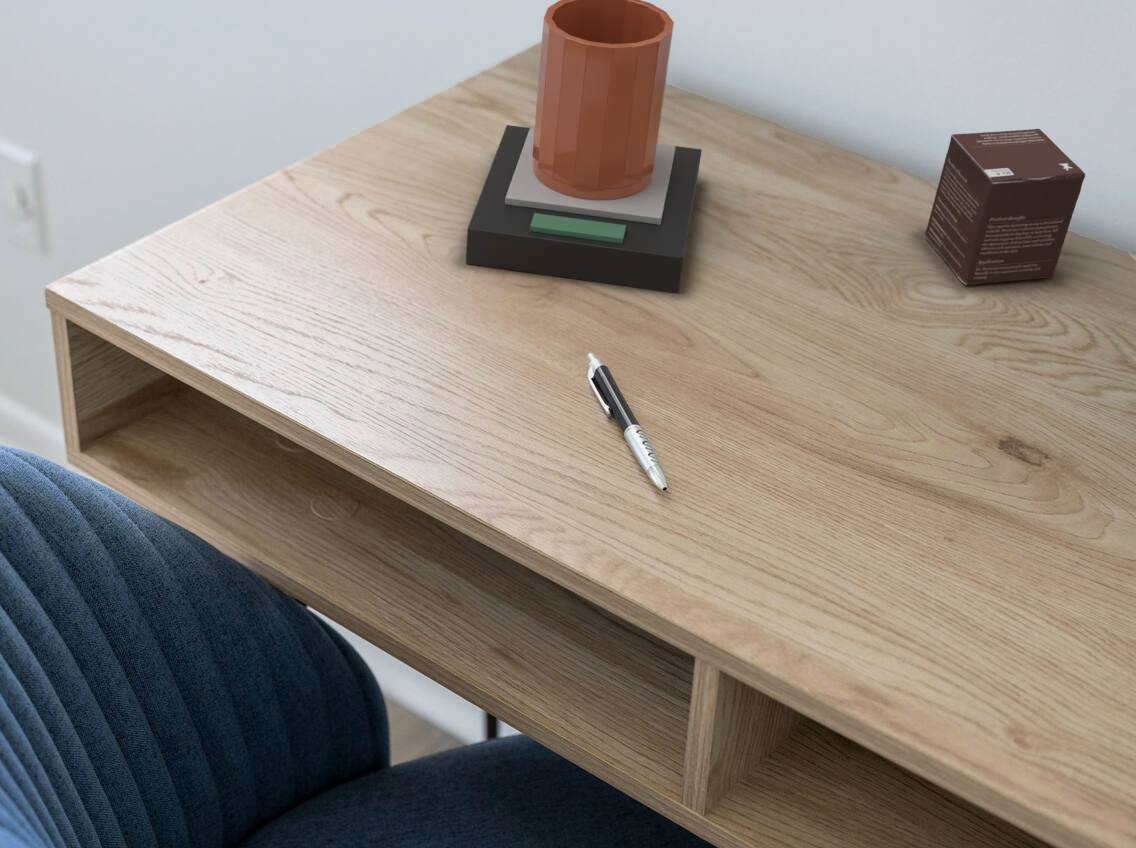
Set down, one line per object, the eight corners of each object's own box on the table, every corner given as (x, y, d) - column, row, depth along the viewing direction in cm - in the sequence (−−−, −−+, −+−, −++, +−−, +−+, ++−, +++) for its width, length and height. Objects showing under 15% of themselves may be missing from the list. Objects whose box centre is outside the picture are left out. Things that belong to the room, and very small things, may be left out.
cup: (658, 150, 105) (678, 1, 98) (646, 207, 99) (666, 53, 93) (542, 135, 106) (554, -12, 99) (523, 191, 100) (535, 38, 94)
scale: (696, 182, 108) (703, 141, 106) (678, 293, 97) (684, 250, 95) (504, 158, 110) (507, 117, 108) (465, 264, 99) (467, 221, 97)
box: (1010, 231, 104) (1041, 126, 99) (1054, 281, 99) (1089, 174, 95) (921, 237, 103) (949, 132, 98) (962, 288, 98) (992, 180, 94)
